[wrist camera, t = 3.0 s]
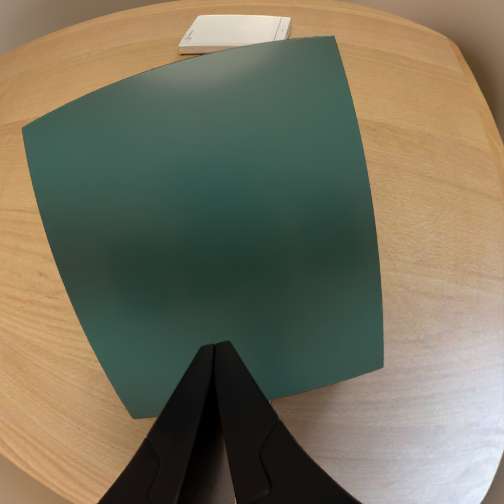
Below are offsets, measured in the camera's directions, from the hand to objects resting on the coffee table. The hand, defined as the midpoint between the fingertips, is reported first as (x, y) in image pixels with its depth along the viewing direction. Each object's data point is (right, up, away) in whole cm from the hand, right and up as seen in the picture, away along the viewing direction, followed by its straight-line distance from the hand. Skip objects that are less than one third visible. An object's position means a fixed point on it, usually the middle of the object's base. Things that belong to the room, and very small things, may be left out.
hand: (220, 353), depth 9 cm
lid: (-1, +3, +3) cm, 4 cm away
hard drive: (-1, +29, +24) cm, 38 cm away
